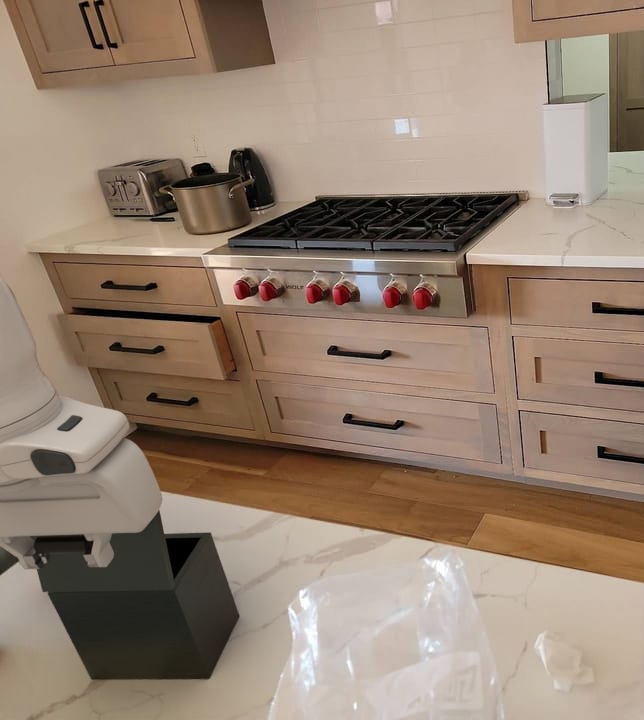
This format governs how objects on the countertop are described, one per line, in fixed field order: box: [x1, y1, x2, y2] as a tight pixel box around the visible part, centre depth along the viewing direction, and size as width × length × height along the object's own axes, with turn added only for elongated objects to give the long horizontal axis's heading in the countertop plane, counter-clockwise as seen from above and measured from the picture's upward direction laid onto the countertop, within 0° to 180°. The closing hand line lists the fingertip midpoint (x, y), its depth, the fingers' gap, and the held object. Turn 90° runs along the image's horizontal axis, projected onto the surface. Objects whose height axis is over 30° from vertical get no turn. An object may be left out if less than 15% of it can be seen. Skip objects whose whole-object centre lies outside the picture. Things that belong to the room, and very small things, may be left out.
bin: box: [46, 531, 240, 680], centre depth 75 cm, size 9×14×13 cm, turn 86°
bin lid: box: [30, 509, 175, 593], centre depth 64 cm, size 10×14×5 cm
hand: (71, 563), depth 63 cm, fingers closed on bin lid, 5 cm apart
